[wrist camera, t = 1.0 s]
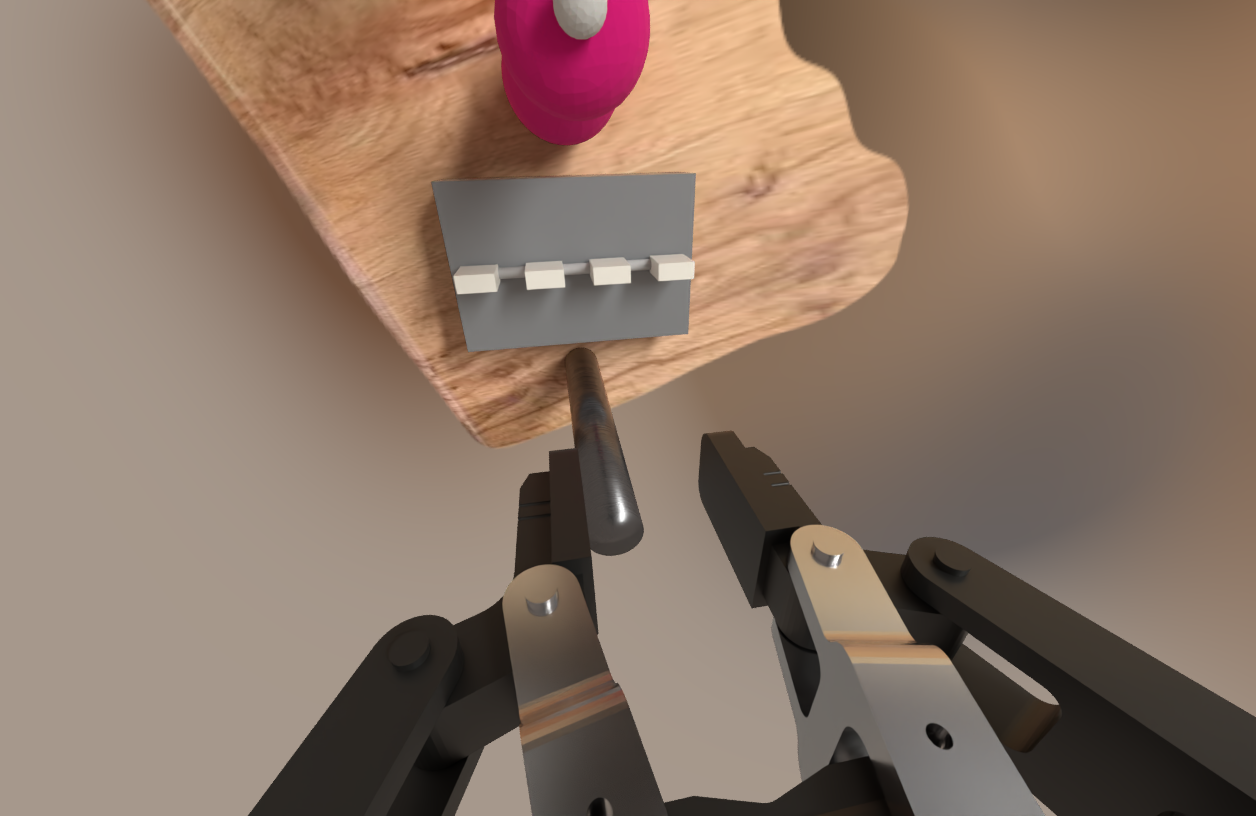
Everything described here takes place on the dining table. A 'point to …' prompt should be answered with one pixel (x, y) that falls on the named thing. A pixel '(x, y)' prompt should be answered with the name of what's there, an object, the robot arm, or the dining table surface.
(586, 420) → the black cord post
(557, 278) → the breaker paddles
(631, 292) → the breaker panel
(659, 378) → the dining table surface
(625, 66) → the pepper mill
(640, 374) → the dining table surface
